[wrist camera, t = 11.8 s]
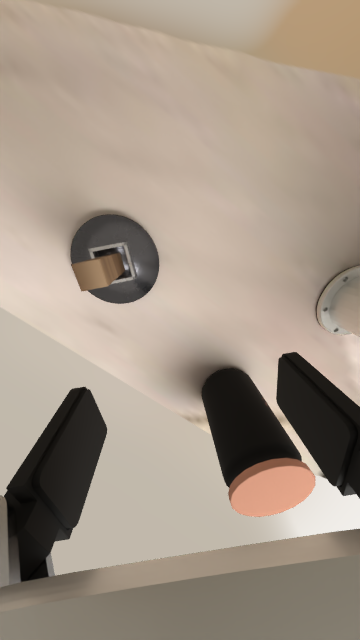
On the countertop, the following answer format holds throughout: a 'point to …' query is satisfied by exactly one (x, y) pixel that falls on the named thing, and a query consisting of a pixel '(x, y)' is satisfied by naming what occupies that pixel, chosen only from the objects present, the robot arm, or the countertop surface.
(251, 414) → the coffee jar
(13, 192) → the countertop surface
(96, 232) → the round metal socket base
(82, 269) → the tan wooden beam
